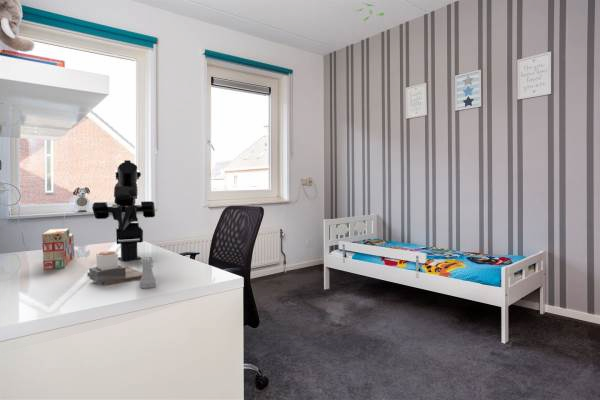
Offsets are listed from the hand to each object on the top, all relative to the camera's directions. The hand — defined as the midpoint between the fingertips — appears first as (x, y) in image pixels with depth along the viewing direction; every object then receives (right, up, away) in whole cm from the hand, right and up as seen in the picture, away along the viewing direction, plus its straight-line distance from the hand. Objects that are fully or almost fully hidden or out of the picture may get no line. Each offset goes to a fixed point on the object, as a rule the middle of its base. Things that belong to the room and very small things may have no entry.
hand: (122, 229), depth 124 cm
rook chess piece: (+15, -15, -17) cm, 27 cm away
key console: (+1, -14, -7) cm, 16 cm away
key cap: (+1, -10, -12) cm, 16 cm away
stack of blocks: (-29, -13, +15) cm, 36 cm away
